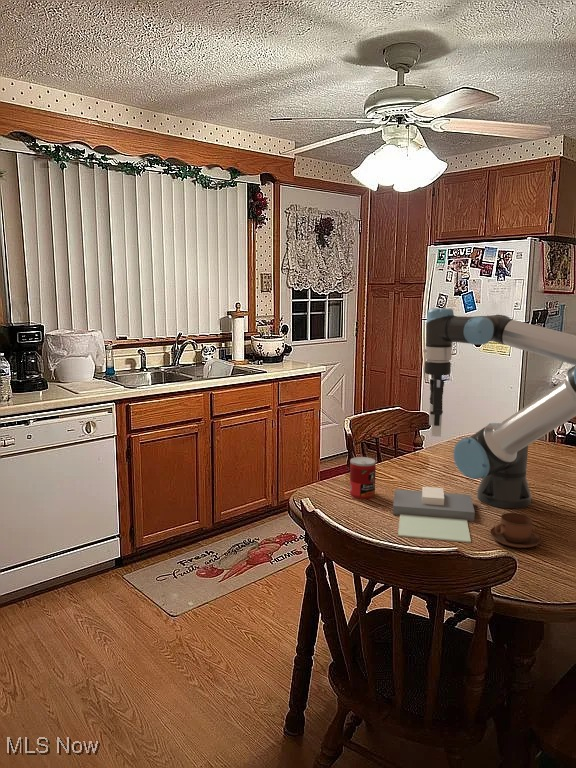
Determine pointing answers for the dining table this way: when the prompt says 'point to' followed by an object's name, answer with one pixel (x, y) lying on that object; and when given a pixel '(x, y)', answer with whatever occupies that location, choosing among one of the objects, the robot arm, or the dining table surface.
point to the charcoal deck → (452, 508)
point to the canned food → (362, 477)
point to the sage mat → (434, 528)
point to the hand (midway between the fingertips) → (434, 430)
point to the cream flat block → (432, 496)
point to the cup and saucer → (516, 531)
